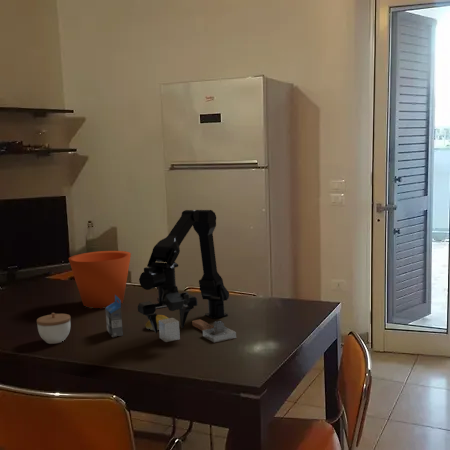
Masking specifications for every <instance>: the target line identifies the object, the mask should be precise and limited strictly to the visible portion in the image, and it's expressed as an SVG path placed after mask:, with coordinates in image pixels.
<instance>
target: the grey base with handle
mask: <svg viewBox="0 0 450 450" xmlns="http://www.w3.org/2000/svg"><path fill="white" fill-rule="evenodd" d="M191 322H192V324H191V325H192V326H193V327H194V328H196V329H199V330H200V331H201V332H202V337H203V338H205V339H207V340H209V341H210V342H212V343H219V342H224V341H228V340H232V339H237V332H236V331H235V330H233V329H230V328H228V327H226V326H225V324H224V321H221V320H216V321H213V325H212V324H210V323H208V322H206V321H205V320H202V319H200V318H199V319H195V320H192V321H191Z"/></svg>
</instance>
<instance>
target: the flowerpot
mask: <svg viewBox="0 0 450 450" xmlns="http://www.w3.org/2000/svg"><path fill="white" fill-rule="evenodd" d="M131 257H132V253H131V252H129V251H123V250H102V251H101V250H99V251H90V252H89V251H88V252H84V253H79V254H74V255H71V256H70V257H68V262H69V265H70V267H71V271H72V274H73V276H74V280H75V283H76V287H77V290H78V293H79V295H80V299H81V302H82V305H83V307H84V306H87V307H93V308H100V309H104V308H103V307H107V306H109V305H110V304H112V303H114V302H115V295H116V296H117V297H118V298H119V299H120V300H121V303H122V304H123V303H124V301H125V300H124V299H125V293H126V286H127V280H128V275H129V268H130V264H131V263H130V262H131ZM117 302H118V303H119V301H118V300H117Z"/></svg>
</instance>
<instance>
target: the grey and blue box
mask: <svg viewBox="0 0 450 450" xmlns="http://www.w3.org/2000/svg"><path fill="white" fill-rule="evenodd" d="M117 300H118V301H119V303H118V302H117ZM104 311H105V321H106V332H108V334H109V335H110V337H112V338H116V337H117V336H119V337H123V336H124V335H123V321H122V318H123V317H122V304H121V300H120V299H119V298H118V297H117V296H116V295H115V302H114V303H112V304H110V305H109V306H107V307H106V308H104ZM117 338H118V337H117Z"/></svg>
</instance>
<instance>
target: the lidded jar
mask: <svg viewBox="0 0 450 450" xmlns="http://www.w3.org/2000/svg"><path fill="white" fill-rule="evenodd" d="M36 324H37V325H36V326H37V331H38V334H39V337H40V338H41V339H42V340H43V341H44V342H45V343H46V344H49V345H53V344H60V343H63V342H64V340H65V341H66V339H67V337H68V336H69V334H70V331H71V328H72V327H71V315H70V314H67V313H55V312H51V314H47V315H43V316H40V317H38V318H37V319H36ZM62 341H63V342H62Z"/></svg>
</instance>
